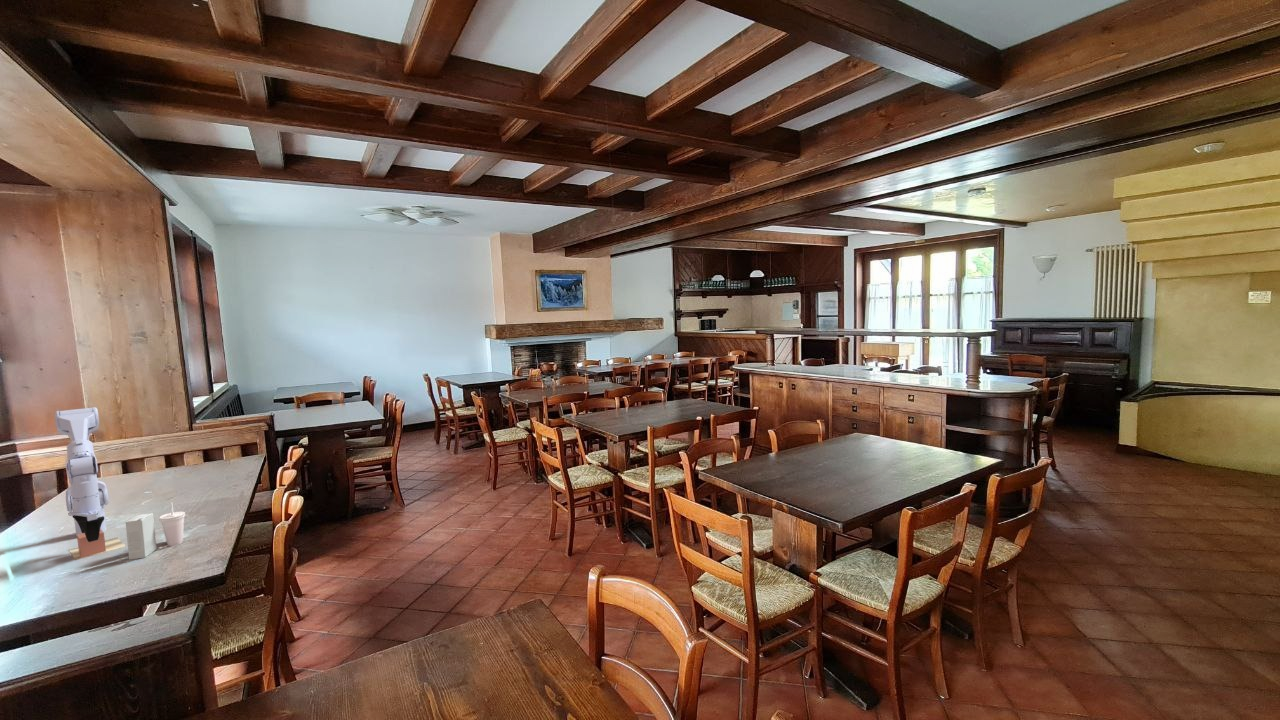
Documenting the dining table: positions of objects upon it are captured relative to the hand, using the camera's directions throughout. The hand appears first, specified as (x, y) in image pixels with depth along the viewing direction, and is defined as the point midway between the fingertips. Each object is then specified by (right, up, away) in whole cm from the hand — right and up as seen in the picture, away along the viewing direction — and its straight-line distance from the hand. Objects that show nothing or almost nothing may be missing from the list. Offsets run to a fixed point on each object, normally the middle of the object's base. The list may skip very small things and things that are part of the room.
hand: (90, 537), depth 162 cm
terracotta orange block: (0, -5, 0) cm, 5 cm away
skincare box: (+17, -5, -1) cm, 18 cm away
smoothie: (+20, -5, +7) cm, 22 cm away
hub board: (-1, -5, +3) cm, 6 cm away
